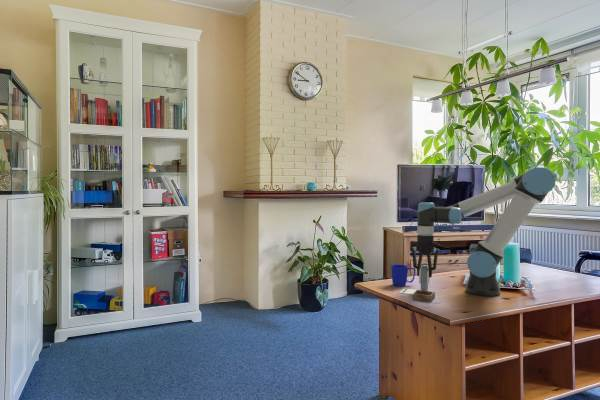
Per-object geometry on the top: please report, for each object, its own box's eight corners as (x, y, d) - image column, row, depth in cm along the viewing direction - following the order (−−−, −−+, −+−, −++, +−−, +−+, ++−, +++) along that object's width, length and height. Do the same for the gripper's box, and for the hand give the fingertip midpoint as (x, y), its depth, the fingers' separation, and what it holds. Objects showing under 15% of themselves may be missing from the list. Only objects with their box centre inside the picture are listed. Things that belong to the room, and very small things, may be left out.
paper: (433, 292, 190) (433, 291, 190) (429, 296, 182) (429, 296, 182) (404, 289, 197) (404, 288, 197) (399, 293, 189) (399, 292, 189)
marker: (428, 290, 191) (429, 265, 190) (426, 291, 188) (427, 266, 187) (421, 289, 192) (421, 264, 192) (419, 290, 189) (420, 265, 189)
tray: (434, 297, 180) (435, 292, 180) (431, 302, 173) (431, 296, 173) (417, 295, 184) (417, 289, 184) (412, 299, 177) (413, 293, 177)
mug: (415, 287, 199) (416, 268, 199) (391, 286, 202) (391, 267, 202) (414, 284, 207) (414, 265, 207) (390, 283, 210) (391, 264, 210)
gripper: (444, 235, 189) (443, 284, 189) (410, 232, 196) (409, 279, 197) (441, 236, 182) (440, 287, 183) (406, 234, 190) (405, 282, 191)
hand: (424, 283), depth 190 cm, fingers closed on marker, 3 cm apart
